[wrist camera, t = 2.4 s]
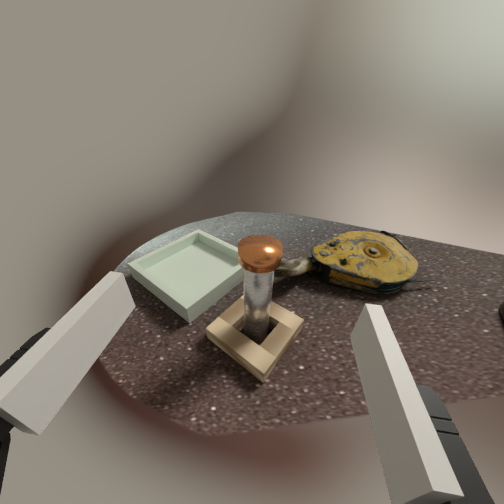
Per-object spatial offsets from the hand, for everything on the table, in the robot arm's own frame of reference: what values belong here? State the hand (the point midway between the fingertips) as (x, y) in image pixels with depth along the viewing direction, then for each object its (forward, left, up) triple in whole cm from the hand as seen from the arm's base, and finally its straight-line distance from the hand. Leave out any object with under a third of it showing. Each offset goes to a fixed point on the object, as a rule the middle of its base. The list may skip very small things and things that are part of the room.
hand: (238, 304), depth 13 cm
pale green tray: (+20, -12, -17) cm, 29 cm away
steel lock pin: (+5, -9, -17) cm, 19 cm away
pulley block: (+1, -29, -17) cm, 34 cm away
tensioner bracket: (+5, -9, -17) cm, 19 cm away
